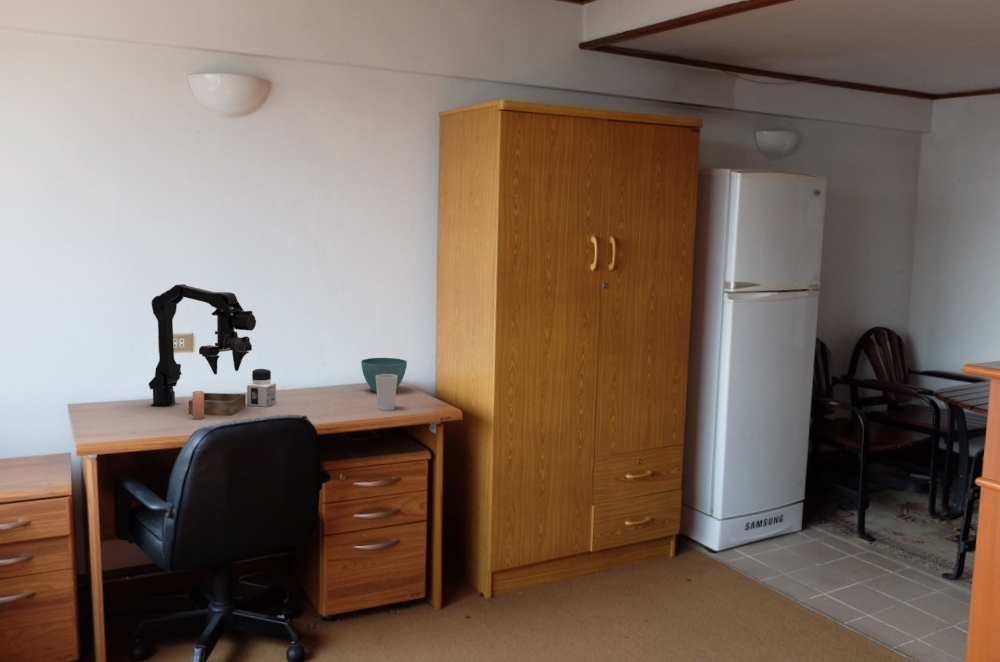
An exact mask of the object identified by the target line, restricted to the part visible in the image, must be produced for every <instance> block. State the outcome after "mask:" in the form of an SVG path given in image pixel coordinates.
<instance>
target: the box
mask: <svg viewBox="0 0 1000 662" xmlns="http://www.w3.org/2000/svg"><path fill="white" fill-rule="evenodd" d="M246 399H247V394H246V393H226V392H225V393H219V392H204V416H205V415H208V416H209V415H210V416H212V415H214V416H233V415H235V414H237V413H238V412H239V411H241V410H242V409H244V408H245V407H246V406H247V403H246V402H247V400H246ZM188 414H189V415H193V398H192V399H190V400H188Z"/></svg>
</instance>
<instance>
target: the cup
mask: <svg viewBox="0 0 1000 662" xmlns="http://www.w3.org/2000/svg"><path fill="white" fill-rule="evenodd" d="M397 377H398V376H397V375H393V374H380V375H376V389H377V392H376V399H377V409H378V410H380V409H381V411H392V410H395V409H396V396H397V388H398V387H397ZM396 387H397V388H396Z"/></svg>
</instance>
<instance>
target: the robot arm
mask: <svg viewBox="0 0 1000 662" xmlns="http://www.w3.org/2000/svg"><path fill="white" fill-rule="evenodd" d="M184 298H185V299H186V298H187V299H189V300H190V299H191V300H194V301H199V302H202V303H206V304H209V305H210V306H211V307H212V308H215V310H214V311H212V313H211V315H212V316H216V317H217V319H216V323H217V324H216V326H217V327H216V330H215V331H214V335H217V336H216V337H217V339H216V340H217V342H215V343H214V345H208V344H207V345H201V346H200V347H199V348H198V355H200V356H201V355H202V357H203V358H205V360H206V361H207V363H208V365H209V367H210V368H211V371H212V373H213V375H217V374H218V360H219V358H220V355H219V353H222V352H229V351H230V352H231V353H232V358H233V359H232V360H233V367H234V371H235V372H238V371H239V369H240V367H241V364H242V361H243V359H244V357H245V356H246V355H247V354H249V353H250V352H251V351H252V350H253V347H252V346H253V345H252V343H251V342H250V341H251V340H250V337H249V336H247V335H246V336H242V337H239V335H238V331H251V332H252V331H253V330H254V329H255V327H256V325H257V319H256V317H255V315H254V314H253V310H244V309H243V307H242V306H241V304H240V303H239V301H238V298H237V296H236V294H235V293H233V292H231V291H229V292H228V291H227V292H226V291H222V292H221V291H210V290H207V289H204V288H197V287H194V286H190V285H187V284H183V283H182V284H181V283H180V284H175V285H174V286H172V287H171V288H169V289H167V290H166V291H164V292H162V293H161V294H160V295H155V296H154V297H153V299H151V308H152V309H151V310H152V313H153V314H154V316H155V318H156V320H157V332H158V334H157V335H158V336H157V337H158V352H159V354H158V355H159V360H158V363H157V365H156V367H155V372H154V377H153V378H152V379H151V380H150V381H149V383H148V387H149V389H150V390H152V403H151V405H150V406H153V407H170V406H172V405H174V404H176V392H175V391H174V387H176V386H177V383H178V381H179V380H180V378H181V375H182V371H181V370H182V369H181V368H182V365H181V363H177V362H176V360H175V351H174V350H175V349H174V348H175V347H174V328H173V327H174V326H173V320H174V317H175V316H176V313H177V308H178V307H177V306H178V304H179V303H180V302H181V301H182V300H183V299H184ZM235 330H238V331H235ZM249 351H250V352H249Z"/></svg>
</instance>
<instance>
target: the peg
mask: <svg viewBox="0 0 1000 662" xmlns="http://www.w3.org/2000/svg"><path fill="white" fill-rule="evenodd" d="M204 393H205V391H202V390H195V391H193V392H192V399H193V414H192V419H193V420H203V419H205V414H204Z"/></svg>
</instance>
